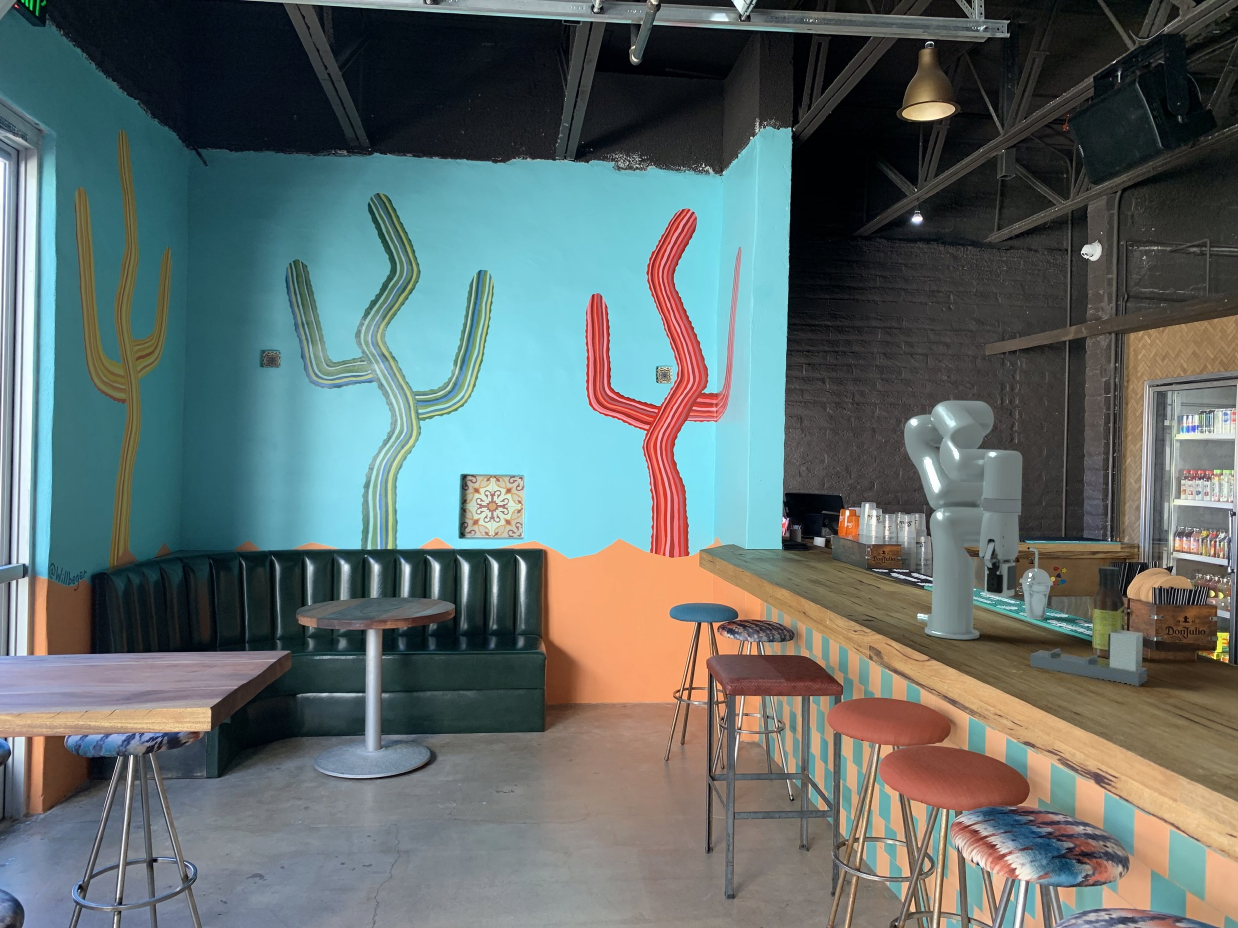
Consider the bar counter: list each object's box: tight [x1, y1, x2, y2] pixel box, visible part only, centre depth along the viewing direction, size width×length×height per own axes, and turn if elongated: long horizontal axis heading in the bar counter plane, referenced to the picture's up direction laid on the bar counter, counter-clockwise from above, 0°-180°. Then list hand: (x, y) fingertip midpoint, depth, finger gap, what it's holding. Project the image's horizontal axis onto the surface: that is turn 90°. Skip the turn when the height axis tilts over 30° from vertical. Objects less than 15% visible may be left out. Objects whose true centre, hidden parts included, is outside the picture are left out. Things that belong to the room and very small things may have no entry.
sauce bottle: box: [1092, 566, 1126, 659], centre depth 188 cm, size 7×6×20 cm
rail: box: [1029, 630, 1148, 687], centre depth 172 cm, size 20×6×10 cm, turn 44°
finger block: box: [984, 561, 1018, 598], centre depth 182 cm, size 5×4×7 cm
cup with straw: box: [1018, 547, 1054, 621], centre depth 232 cm, size 8×9×20 cm
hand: (999, 590), depth 182 cm, fingers closed on finger block, 4 cm apart
